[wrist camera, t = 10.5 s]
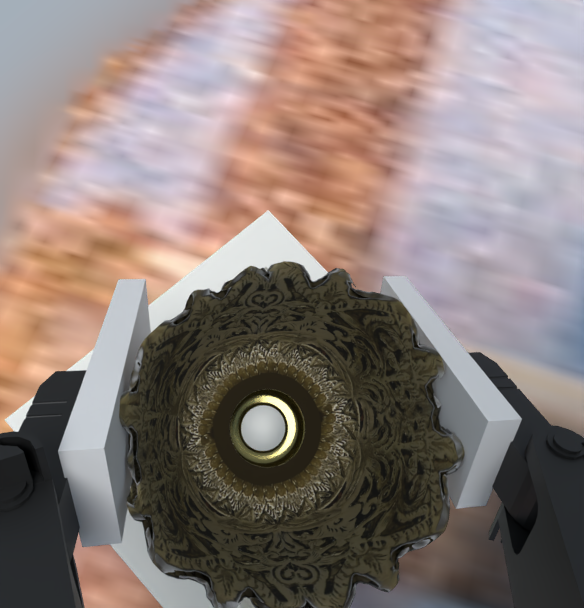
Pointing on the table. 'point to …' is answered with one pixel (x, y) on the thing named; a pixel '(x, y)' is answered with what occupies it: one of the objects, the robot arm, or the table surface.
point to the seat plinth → (257, 422)
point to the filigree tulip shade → (287, 440)
